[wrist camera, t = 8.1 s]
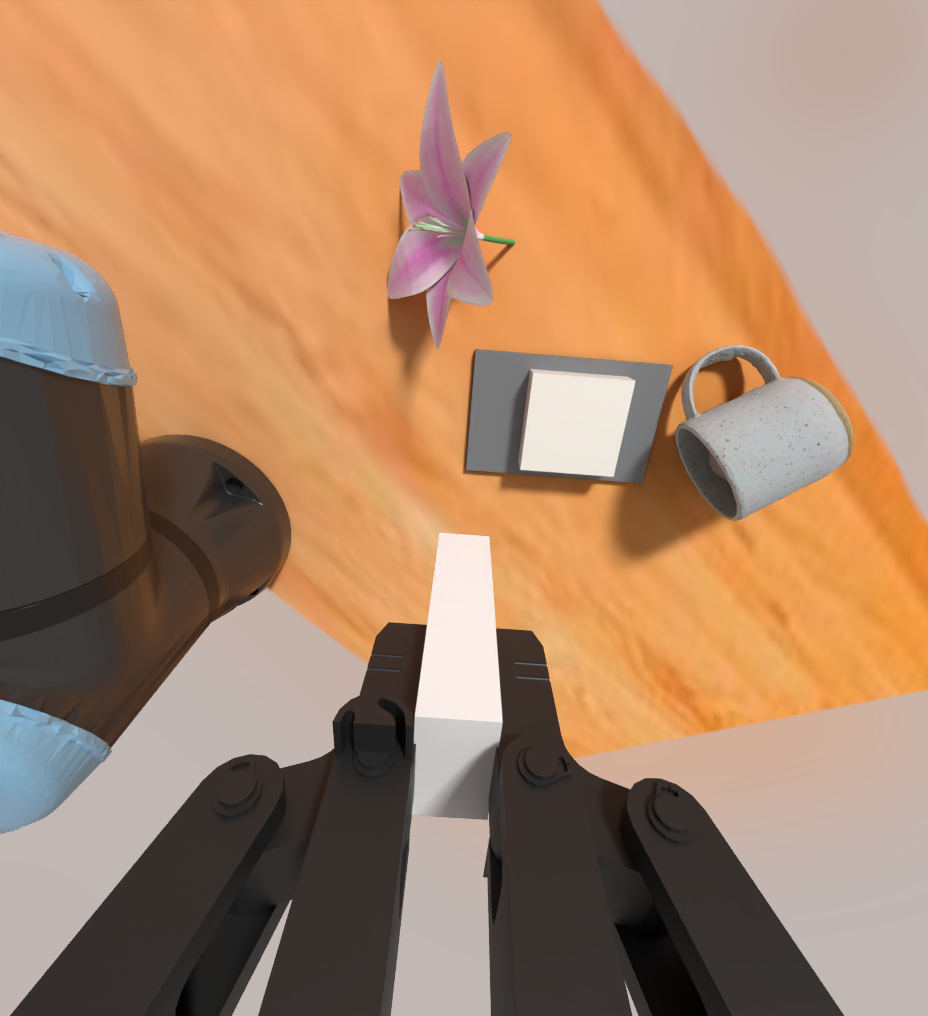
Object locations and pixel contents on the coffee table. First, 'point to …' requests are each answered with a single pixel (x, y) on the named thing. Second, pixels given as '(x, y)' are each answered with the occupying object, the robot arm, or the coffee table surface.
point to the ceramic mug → (760, 438)
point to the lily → (445, 216)
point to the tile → (574, 422)
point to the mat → (505, 398)
